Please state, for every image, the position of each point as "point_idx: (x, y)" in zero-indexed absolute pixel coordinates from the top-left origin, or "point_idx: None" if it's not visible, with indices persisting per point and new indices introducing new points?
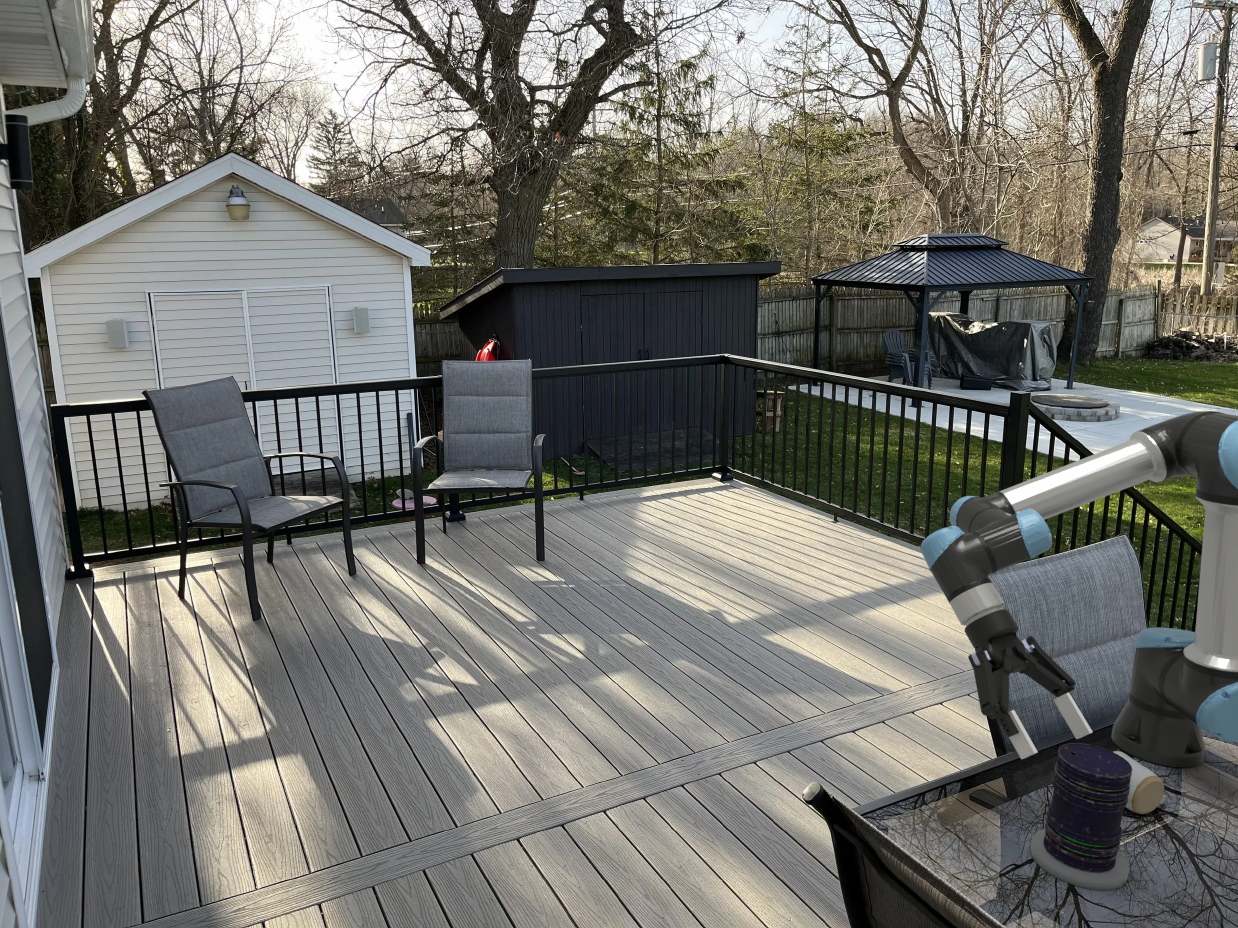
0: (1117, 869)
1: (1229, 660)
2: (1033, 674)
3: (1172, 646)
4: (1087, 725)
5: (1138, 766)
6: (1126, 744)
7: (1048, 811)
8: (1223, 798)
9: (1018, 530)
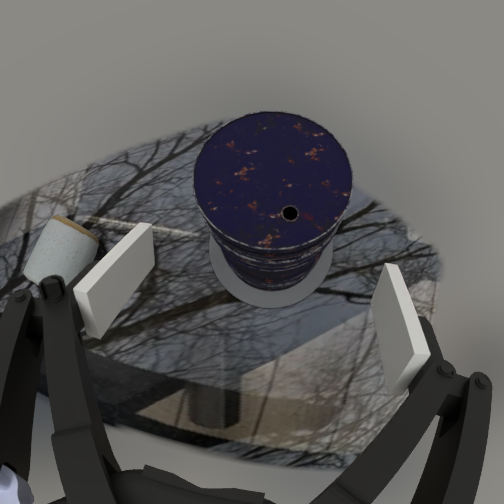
0: None
1: None
2: (99, 423)
3: None
4: (135, 232)
5: (47, 240)
6: None
7: (300, 275)
8: (16, 202)
9: None
